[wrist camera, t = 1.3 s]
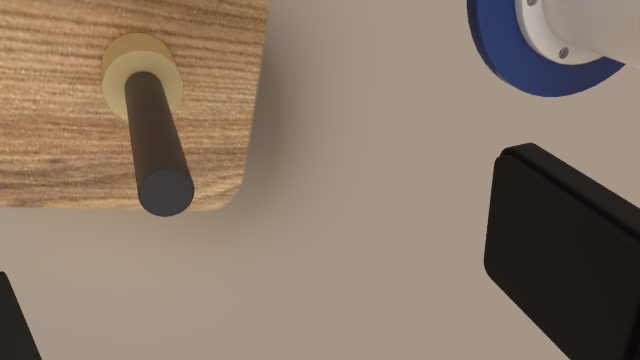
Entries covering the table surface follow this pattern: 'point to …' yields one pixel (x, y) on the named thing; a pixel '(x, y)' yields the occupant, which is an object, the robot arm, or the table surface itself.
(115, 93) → the brush
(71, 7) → the table surface
